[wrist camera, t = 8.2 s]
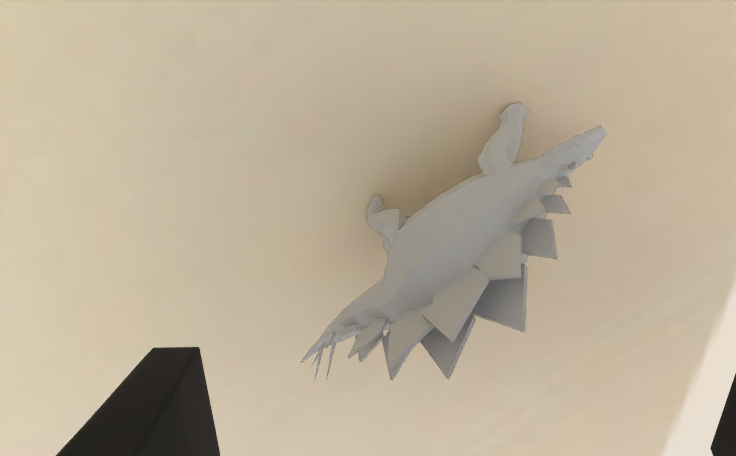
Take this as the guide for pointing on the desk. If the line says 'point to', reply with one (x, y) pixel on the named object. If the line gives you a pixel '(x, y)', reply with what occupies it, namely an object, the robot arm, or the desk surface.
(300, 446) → the desk surface
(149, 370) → the robot arm
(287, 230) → the desk surface
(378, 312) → the stegosaurus
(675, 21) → the desk surface
